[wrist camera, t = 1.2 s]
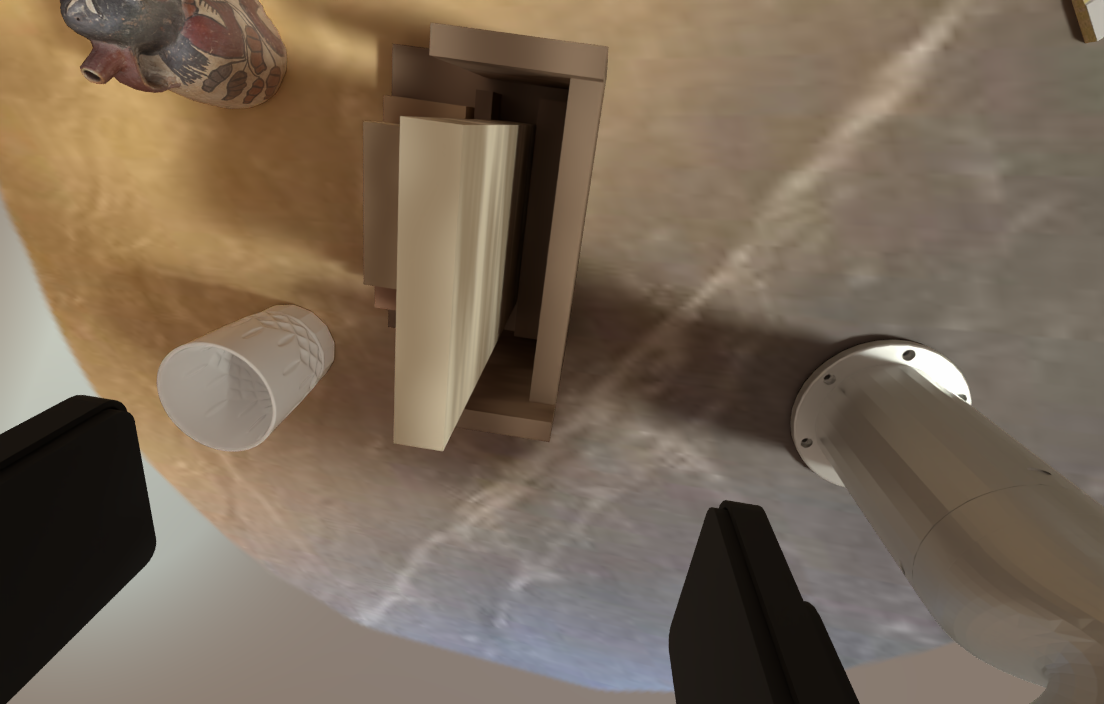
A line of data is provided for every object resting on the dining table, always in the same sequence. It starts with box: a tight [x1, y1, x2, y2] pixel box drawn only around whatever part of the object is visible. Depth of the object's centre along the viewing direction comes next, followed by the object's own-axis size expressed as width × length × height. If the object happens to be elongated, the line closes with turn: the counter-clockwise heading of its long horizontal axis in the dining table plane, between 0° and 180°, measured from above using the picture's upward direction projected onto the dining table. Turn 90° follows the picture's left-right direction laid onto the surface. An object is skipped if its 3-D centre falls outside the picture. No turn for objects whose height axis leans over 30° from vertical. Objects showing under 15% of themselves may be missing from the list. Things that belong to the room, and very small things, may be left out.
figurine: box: [60, 0, 287, 109], centre depth 31 cm, size 7×7×12 cm
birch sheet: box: [393, 116, 536, 451], centre depth 29 cm, size 2×12×20 cm, turn 173°
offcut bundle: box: [363, 95, 475, 310], centre depth 35 cm, size 5×13×8 cm, turn 173°
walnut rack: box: [388, 23, 608, 442], centre depth 33 cm, size 14×19×14 cm
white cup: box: [157, 305, 335, 451], centre depth 40 cm, size 8×8×10 cm
